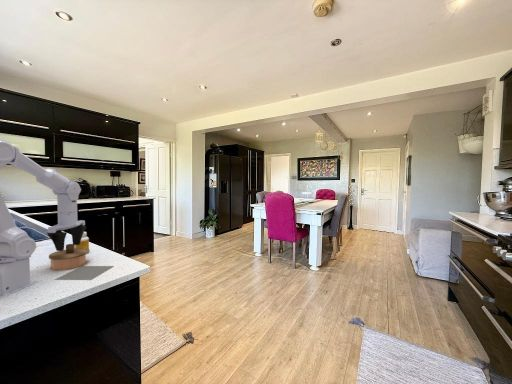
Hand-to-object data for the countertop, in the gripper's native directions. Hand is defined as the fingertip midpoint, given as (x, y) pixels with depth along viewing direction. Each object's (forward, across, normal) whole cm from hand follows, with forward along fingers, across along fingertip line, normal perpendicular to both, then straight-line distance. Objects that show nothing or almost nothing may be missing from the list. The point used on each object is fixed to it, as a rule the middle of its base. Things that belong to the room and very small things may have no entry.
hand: (68, 247), depth 86 cm
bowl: (+7, 0, 0) cm, 7 cm away
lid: (+3, 0, 0) cm, 3 cm away
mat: (+7, -7, -12) cm, 16 cm away
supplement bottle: (+7, +14, +6) cm, 17 cm away
